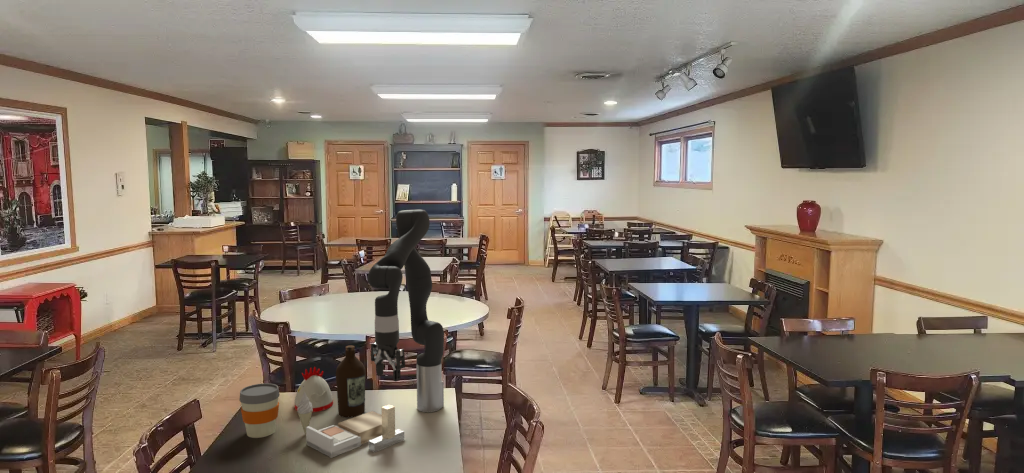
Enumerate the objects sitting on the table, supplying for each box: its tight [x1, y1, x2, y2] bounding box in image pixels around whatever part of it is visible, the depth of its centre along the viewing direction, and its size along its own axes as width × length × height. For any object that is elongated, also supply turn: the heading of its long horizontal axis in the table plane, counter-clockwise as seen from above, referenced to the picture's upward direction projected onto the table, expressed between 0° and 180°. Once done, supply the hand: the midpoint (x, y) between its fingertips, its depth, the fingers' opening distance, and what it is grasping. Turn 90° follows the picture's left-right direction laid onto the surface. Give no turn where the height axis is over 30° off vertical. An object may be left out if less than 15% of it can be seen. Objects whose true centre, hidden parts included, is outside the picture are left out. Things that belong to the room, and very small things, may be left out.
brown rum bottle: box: [335, 345, 367, 419], centre depth 223 cm, size 11×11×25 cm
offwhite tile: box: [331, 431, 354, 444], centre depth 196 cm, size 5×5×2 cm
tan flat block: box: [337, 410, 382, 445], centre depth 206 cm, size 14×12×4 cm
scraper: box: [368, 404, 405, 453], centre depth 197 cm, size 4×12×13 cm, turn 139°
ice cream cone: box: [296, 391, 313, 435], centre depth 205 cm, size 5×5×15 cm
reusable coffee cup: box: [239, 382, 281, 439], centre depth 206 cm, size 13×13×15 cm
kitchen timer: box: [294, 366, 334, 413], centre depth 230 cm, size 14×14×15 cm
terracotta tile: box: [322, 427, 344, 437], centre depth 200 cm, size 5×5×2 cm
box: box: [305, 424, 362, 459], centre depth 197 cm, size 11×14×6 cm
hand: (388, 377), depth 195 cm, fingers open, 8 cm apart
